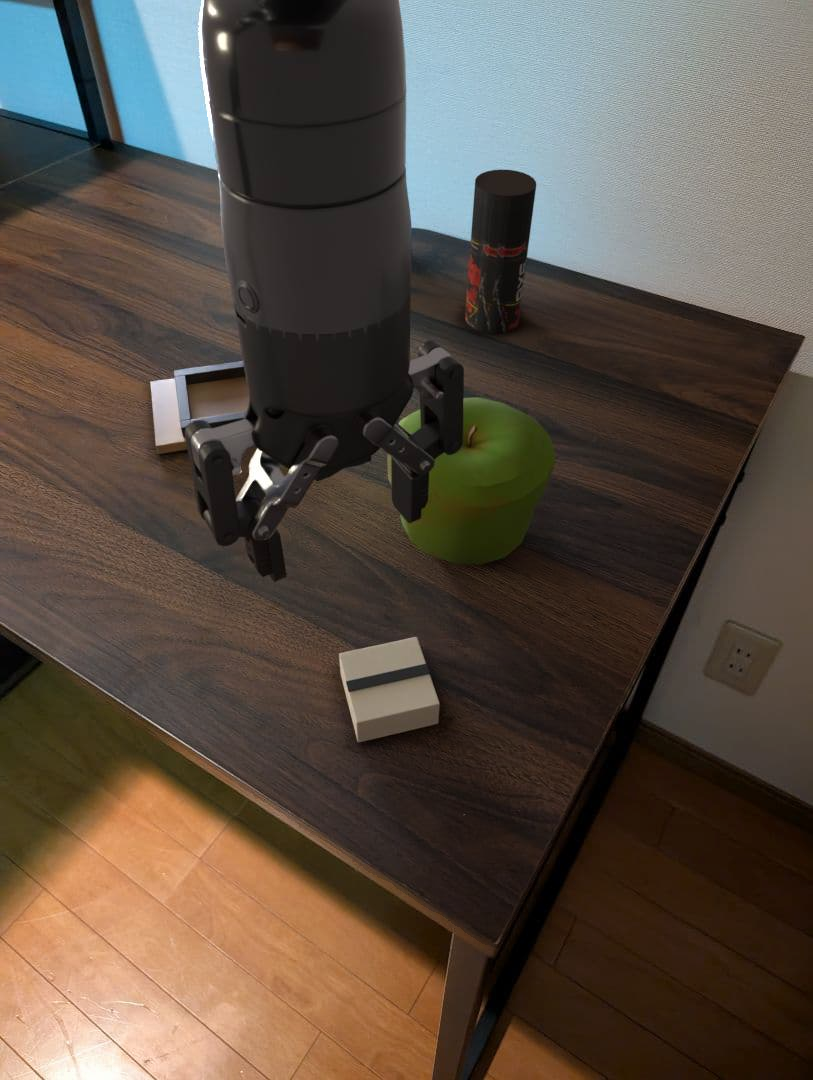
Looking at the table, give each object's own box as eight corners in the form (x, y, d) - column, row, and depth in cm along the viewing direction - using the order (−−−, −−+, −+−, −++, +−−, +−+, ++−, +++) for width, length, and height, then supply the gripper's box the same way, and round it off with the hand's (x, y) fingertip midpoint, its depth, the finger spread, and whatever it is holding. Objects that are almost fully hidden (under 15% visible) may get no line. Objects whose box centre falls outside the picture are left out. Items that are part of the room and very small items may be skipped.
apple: (530, 480, 70) (548, 374, 62) (547, 587, 62) (570, 481, 54) (389, 479, 70) (388, 373, 62) (387, 586, 62) (385, 480, 54)
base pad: (158, 454, 72) (152, 435, 71) (152, 389, 79) (147, 371, 77) (310, 430, 75) (308, 411, 73) (292, 369, 81) (290, 351, 80)
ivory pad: (358, 743, 53) (356, 722, 51) (340, 673, 57) (338, 652, 55) (438, 724, 54) (440, 703, 52) (416, 657, 58) (417, 635, 56)
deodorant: (516, 336, 86) (534, 198, 75) (461, 330, 86) (471, 192, 75) (520, 307, 90) (538, 172, 79) (468, 301, 90) (478, 167, 79)
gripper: (418, 204, 38) (413, 460, 50) (125, 282, 33) (198, 546, 45) (512, 273, 33) (482, 535, 45) (191, 375, 28) (252, 640, 40)
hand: (341, 540), depth 45 cm, fingers open, 8 cm apart
